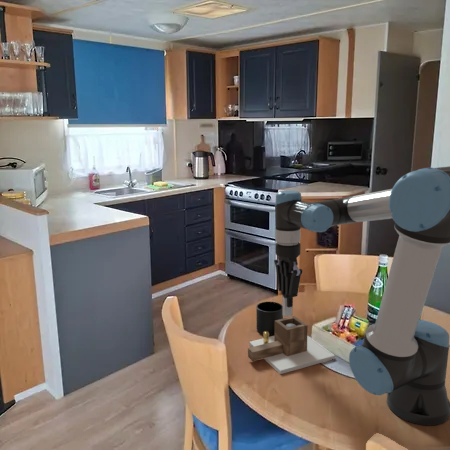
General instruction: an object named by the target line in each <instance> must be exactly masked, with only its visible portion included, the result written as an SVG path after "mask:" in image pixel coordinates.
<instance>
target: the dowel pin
mask: <svg viewBox="0 0 450 450" xmlns="http://www.w3.org/2000/svg"><path fill="white" fill-rule="evenodd" d="M262 335H263V337H262V339H263V344H266V343H269V337H270V335H269V332H268V331H264V332H263V334H262Z"/></svg>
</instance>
